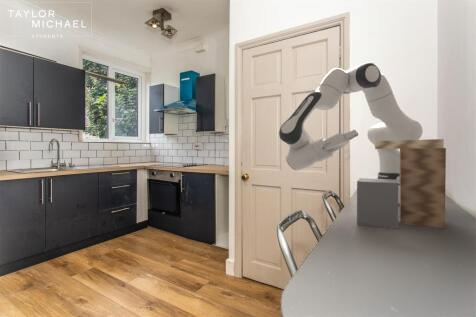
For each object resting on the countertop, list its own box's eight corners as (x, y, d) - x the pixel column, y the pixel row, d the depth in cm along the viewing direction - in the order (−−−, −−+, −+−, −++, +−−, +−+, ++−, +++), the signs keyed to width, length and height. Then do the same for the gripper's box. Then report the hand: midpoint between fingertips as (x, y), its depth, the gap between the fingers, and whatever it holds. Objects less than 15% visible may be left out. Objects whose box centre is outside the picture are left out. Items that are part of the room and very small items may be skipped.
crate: (357, 224, 87) (357, 181, 86) (359, 217, 95) (359, 178, 95) (398, 229, 81) (398, 183, 80) (396, 221, 89) (397, 179, 89)
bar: (375, 149, 93) (375, 141, 93) (375, 148, 96) (375, 141, 95) (443, 148, 83) (443, 139, 83) (441, 148, 85) (442, 139, 85)
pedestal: (400, 223, 87) (401, 148, 86) (399, 216, 95) (399, 148, 94) (444, 228, 81) (445, 148, 80) (439, 220, 89) (440, 148, 88)
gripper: (315, 140, 94) (351, 122, 88) (324, 142, 112) (354, 127, 106) (322, 155, 93) (359, 138, 87) (330, 154, 111) (361, 140, 105)
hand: (357, 132), depth 97 cm, fingers open, 8 cm apart
